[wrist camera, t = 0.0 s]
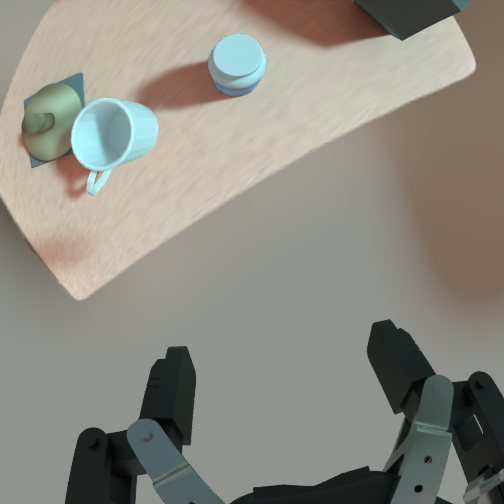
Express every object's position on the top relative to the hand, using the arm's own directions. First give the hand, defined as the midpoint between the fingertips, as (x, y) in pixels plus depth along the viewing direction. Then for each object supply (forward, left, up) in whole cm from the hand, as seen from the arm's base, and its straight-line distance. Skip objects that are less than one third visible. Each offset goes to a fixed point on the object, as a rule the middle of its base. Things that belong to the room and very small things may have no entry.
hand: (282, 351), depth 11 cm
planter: (-30, +24, -30) cm, 48 cm away
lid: (-16, -28, -29) cm, 43 cm away
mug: (-9, -16, -30) cm, 35 cm away
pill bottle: (-16, 0, -30) cm, 34 cm away
